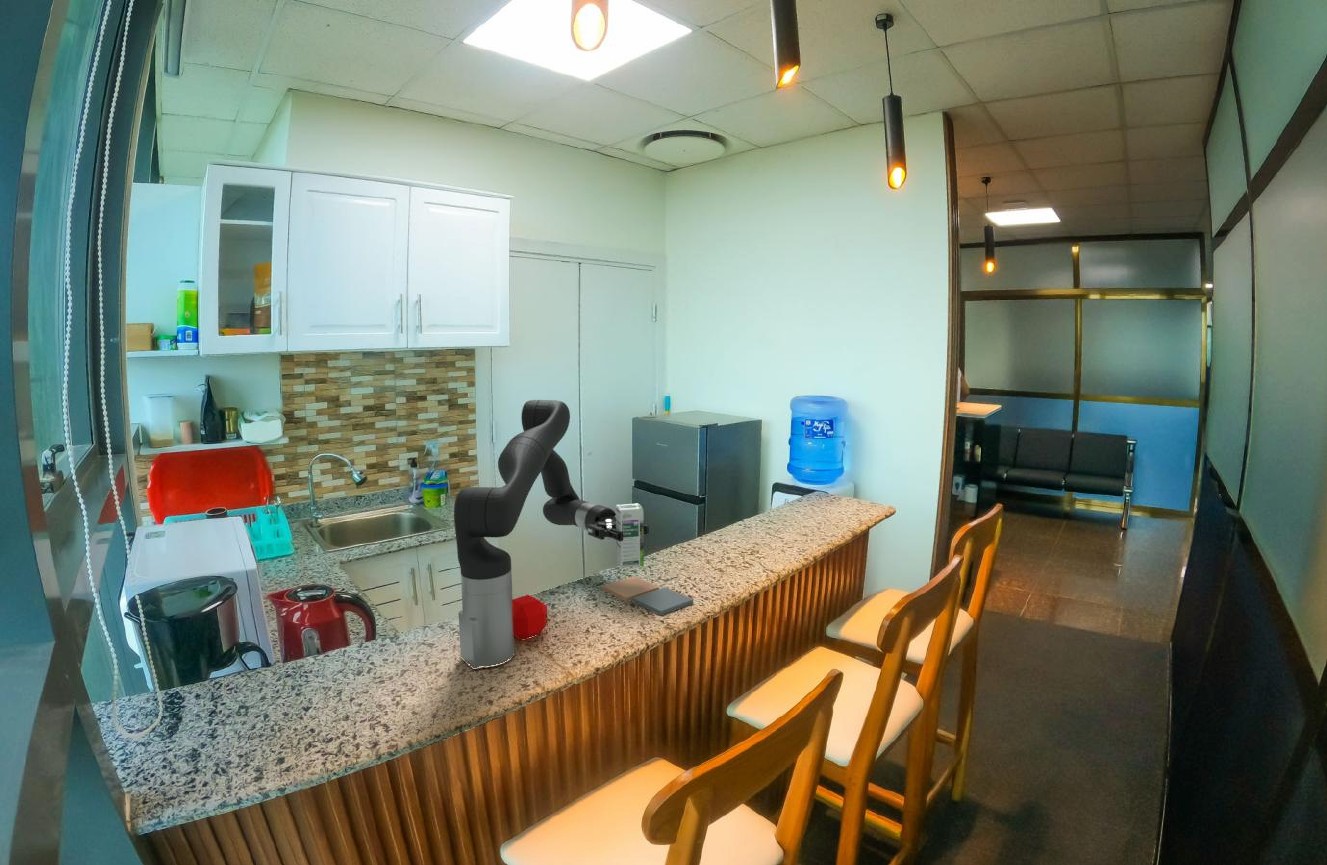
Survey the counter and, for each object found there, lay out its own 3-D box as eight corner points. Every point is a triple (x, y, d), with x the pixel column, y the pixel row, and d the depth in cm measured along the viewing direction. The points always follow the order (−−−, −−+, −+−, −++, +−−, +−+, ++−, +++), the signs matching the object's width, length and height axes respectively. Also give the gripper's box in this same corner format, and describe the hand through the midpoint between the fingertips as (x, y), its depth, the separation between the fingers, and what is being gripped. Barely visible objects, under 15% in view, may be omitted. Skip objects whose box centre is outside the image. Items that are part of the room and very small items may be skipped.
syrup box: (620, 568, 149) (620, 509, 147) (615, 560, 154) (615, 503, 152) (644, 566, 150) (643, 508, 148) (638, 558, 156) (638, 501, 154)
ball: (553, 634, 129) (552, 599, 128) (519, 647, 124) (518, 610, 123) (532, 622, 135) (531, 589, 134) (499, 634, 130) (497, 599, 129)
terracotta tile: (626, 601, 146) (626, 597, 146) (601, 589, 154) (601, 585, 153) (659, 590, 153) (659, 586, 152) (633, 579, 160) (633, 575, 160)
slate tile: (660, 615, 139) (660, 611, 138) (632, 601, 146) (632, 597, 146) (693, 603, 145) (693, 599, 145) (664, 590, 152) (664, 587, 152)
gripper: (572, 509, 157) (611, 524, 144) (617, 500, 166) (658, 513, 154) (572, 538, 158) (611, 555, 145) (617, 527, 167) (657, 542, 155)
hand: (635, 533), depth 150 cm, fingers closed on syrup box, 7 cm apart
